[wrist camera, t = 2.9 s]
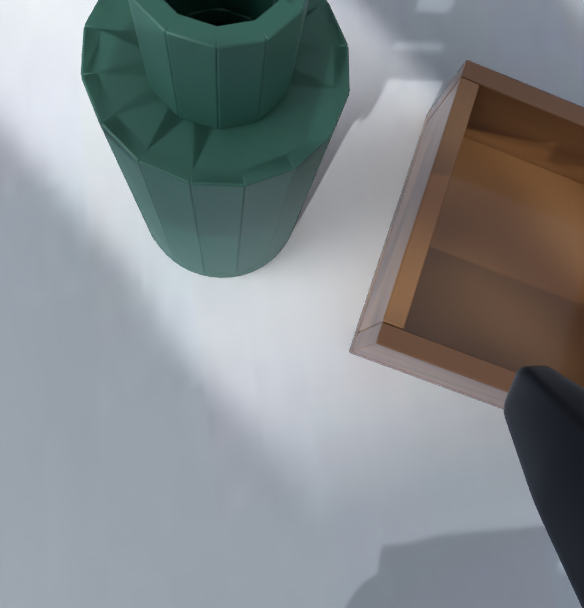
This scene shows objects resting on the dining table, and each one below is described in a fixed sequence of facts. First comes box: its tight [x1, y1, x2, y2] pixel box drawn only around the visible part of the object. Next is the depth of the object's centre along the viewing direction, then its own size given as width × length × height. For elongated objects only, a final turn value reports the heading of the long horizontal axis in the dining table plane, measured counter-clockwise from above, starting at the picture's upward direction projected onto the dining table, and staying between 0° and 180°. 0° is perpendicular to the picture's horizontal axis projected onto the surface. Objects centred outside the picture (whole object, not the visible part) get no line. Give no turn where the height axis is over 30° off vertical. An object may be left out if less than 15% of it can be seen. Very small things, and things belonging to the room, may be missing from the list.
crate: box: [349, 60, 584, 409], centre depth 22 cm, size 12×12×4 cm
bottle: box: [81, 0, 350, 278], centre depth 16 cm, size 6×6×13 cm
